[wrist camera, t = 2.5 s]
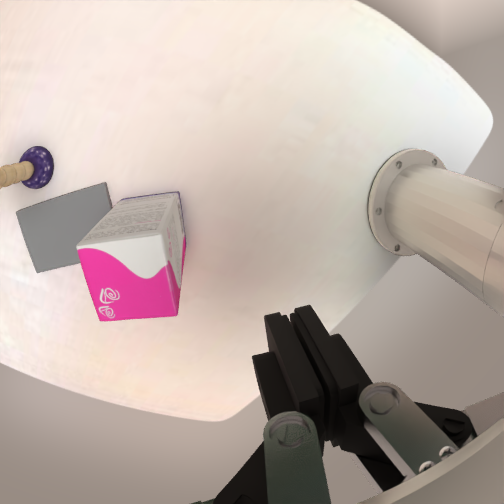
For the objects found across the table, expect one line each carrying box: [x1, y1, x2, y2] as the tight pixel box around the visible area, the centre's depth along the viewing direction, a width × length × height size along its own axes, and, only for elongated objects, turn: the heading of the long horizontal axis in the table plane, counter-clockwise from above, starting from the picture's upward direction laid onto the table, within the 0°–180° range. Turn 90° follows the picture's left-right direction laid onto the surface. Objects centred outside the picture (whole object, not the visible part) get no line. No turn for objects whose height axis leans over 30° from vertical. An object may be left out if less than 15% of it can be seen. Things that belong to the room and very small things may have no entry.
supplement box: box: [76, 192, 186, 321], centre depth 22 cm, size 6×6×12 cm
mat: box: [16, 182, 112, 273], centre depth 26 cm, size 11×7×1 cm, turn 99°
